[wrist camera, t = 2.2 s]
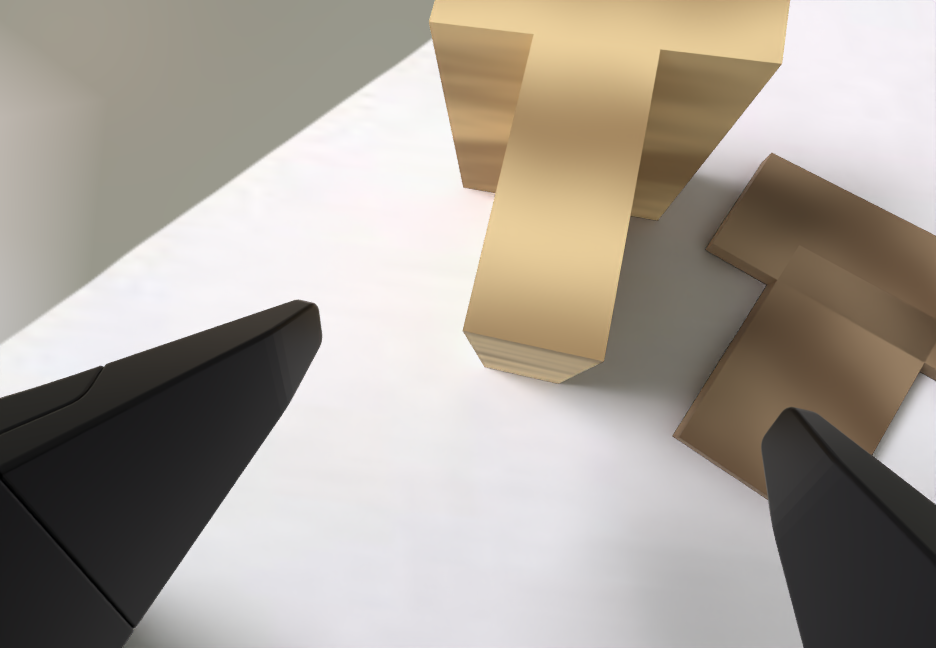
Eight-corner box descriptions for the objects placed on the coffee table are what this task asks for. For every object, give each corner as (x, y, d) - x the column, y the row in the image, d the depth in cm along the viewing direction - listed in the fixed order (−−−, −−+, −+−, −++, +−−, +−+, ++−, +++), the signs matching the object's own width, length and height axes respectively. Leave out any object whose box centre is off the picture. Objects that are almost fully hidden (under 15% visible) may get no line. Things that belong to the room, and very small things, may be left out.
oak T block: (627, 399, 20) (740, 391, 10) (421, 352, 21) (347, 305, 12) (667, 166, 22) (793, -28, 12) (476, 136, 23) (452, -60, 14)
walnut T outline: (887, 579, 18) (905, 588, 17) (610, 394, 20) (614, 394, 19) (1038, 303, 19) (1060, 299, 18) (762, 161, 21) (771, 152, 21)
